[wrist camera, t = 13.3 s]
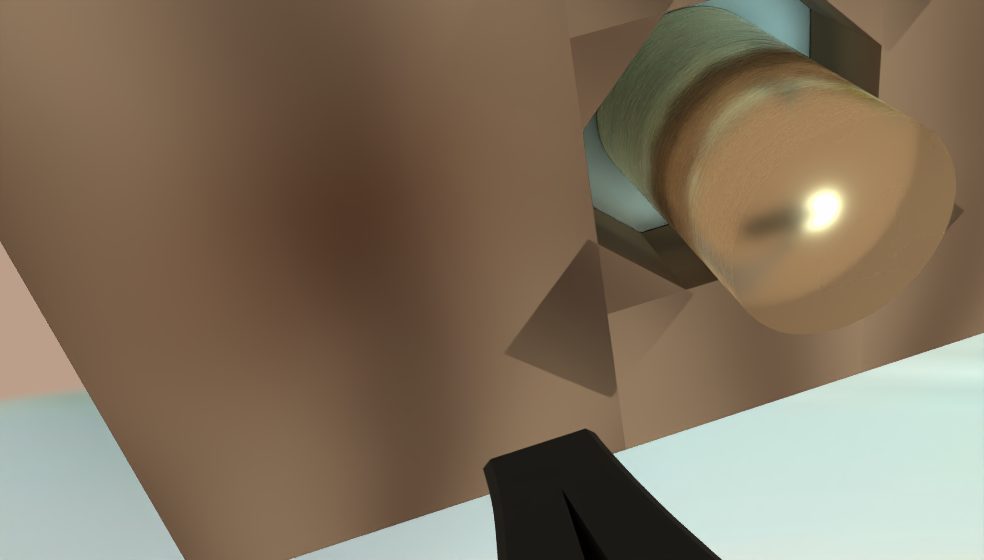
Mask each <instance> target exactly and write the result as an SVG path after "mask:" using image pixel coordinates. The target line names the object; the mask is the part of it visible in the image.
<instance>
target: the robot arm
mask: <svg viewBox="0 0 984 560" xmlns="http://www.w3.org/2000/svg"><path fill="white" fill-rule="evenodd" d="M483 471H484V474H485V478H486V482H487V486H488V489H489V493H490V497H491V501H492V506H493V513H494V521H495V529H496V542H497V554H498V560H722V559H721V558H719V557H718V556H717V555H716V554H715V553H714V552H712V551H711V550H710V549H709V548H708V547H707V546H706V545H705V544H704V543H703V542H701V541H700V540H699V539H698V538H697V537H696V536H695V535H694V534H693V533H691V532H690V531H689V530H688V529H687V528H686V527H685V526H684V525H683V524H681V523H680V522H679V521H678V520H677V519H676V518H675V517H674V516H673V515H672V514H671V513H670V512H669V511H668V510H666V509H665V508H664V507H663V506H662V505H661V504H660V503H659V502H658V501H657V500H656V499H655V498H654V497H653V496H652V495H651V494H650V493H649V492H648V491H647V490H646V489H645V488H644V487H643V486H642V485H641V484H640V483H639V482H638V481H637V480H636V479H635V478H634V476H633V475H632V474H631V473H630V472H629V471H628V470H627V469H626V468H625V467H624V466H623V465H622V464H621V463H620V461H619V460H618V459H617V458H616V457H615V456H614V455H613V454H612V452H611V451H610V450H609V449H608V448H607V447H606V446H605V444H604V443H603V442H602V441H601V440H600V438H599V437H598V436H597V435H596V433H594V432H592V431H590V430H588V429H586V428H585V429H582V430H579V431H576V432H573V433H570V434H566V435H563V436H560V437H557V438H554V439H551V440H548V441H545V442H542V443H539V444H535V445H532V446H529V447H526V448H523V449H520V450H517V451H514V452H511V453H507V454H504V455H501V456H498V457H495V458H492V459H490V460H489V461H488V463H487V464H486V465H485V467H484V468H483Z"/></svg>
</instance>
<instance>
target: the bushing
mask: <svg viewBox="0 0 984 560" xmlns="http://www.w3.org/2000/svg"><path fill="white" fill-rule="evenodd" d="M597 124H598V131H599V135H600V139H601V142H602V144H603V147H604V149H605V150H606V152H607V154H608V156H609V157H610V158H611V160H612V161H613V162H614V163H615V165H616V166H617V167H618V168H619V169H620V170H621V171H622V172H623V173H624V175H625V176H626V177H627V178H628V179H629V180H630V181H631V182H632V183H633V185H634V186H635V187H636V188H637V189H638V190H639V191H640V192H641V194H642V195H643V196H644V197H645V198H646V199H647V200H648V201H649V202H650V204H651V205H652V206H653V207H654V208H655V209H656V210H657V211H658V212H659V214H660V215H661V216H662V217H663V218H664V219H665V220H666V221H667V222H668V224H669V225H670V226H671V227H672V228H673V229H674V230H675V231H676V232H677V234H678V235H679V236H680V237H681V238H682V239H683V240H684V241H685V242H686V244H687V245H688V246H689V247H690V248H691V249H692V250H693V251H694V253H695V254H696V255H697V256H698V257H699V258H700V259H701V260H702V261H703V263H704V264H705V265H706V266H707V267H708V268H709V269H710V270H711V271H712V273H713V274H714V275H715V276H716V277H717V278H718V279H719V280H720V281H721V283H722V284H723V285H724V286H725V287H726V288H727V289H728V290H729V291H730V293H731V294H732V295H733V296H734V297H735V298H736V299H737V300H738V301H739V303H740V304H741V305H742V306H743V307H744V308H745V309H746V310H747V312H748V313H749V314H750V315H751V316H752V317H754V318H755V319H756V320H757V321H758V322H760V323H762V324H763V325H765V326H767V327H768V328H771V329H774V330H776V331H779V332H784V333H789V334H800V335H806V334H818V333H823V332H829V331H832V330H836V329H839V328H842V327H845V326H847V325H850V324H852V323H855V322H857V321H859V320H861V319H863V318H865V317H867V316H869V315H870V314H872V313H874V312H875V311H877V310H878V309H880V308H881V307H883V306H884V305H886V304H887V303H888V302H890V301H891V300H892V299H894V298H895V297H896V296H897V295H898V294H899V293H900V292H902V291H903V290H904V289H905V288H906V287H907V286H908V285H909V284H910V283H911V282H912V281H913V280H914V279H915V278H916V276H917V275H918V274H919V273H920V272H921V270H922V269H923V268H924V267H925V265H926V264H927V263H928V261H929V260H930V258H931V257H932V255H933V254H934V252H935V251H936V249H937V247H938V245H939V244H940V242H941V240H942V238H943V236H944V234H945V231H946V229H947V226H948V224H949V221H950V218H951V214H952V211H953V207H954V201H955V195H956V177H955V169H954V165H953V162H952V158H951V156H950V154H949V151H948V149H947V147H946V146H945V144H944V143H943V142H942V140H941V139H940V138H939V137H938V136H937V135H936V134H935V133H934V132H933V131H932V130H930V129H929V128H927V127H926V126H924V125H922V124H921V123H919V122H917V121H915V120H914V119H912V118H910V117H909V116H907V115H905V114H904V113H902V112H900V111H898V110H897V109H895V108H893V107H892V106H890V105H888V104H887V103H885V102H883V101H881V100H880V99H878V98H876V97H875V96H873V95H871V94H870V93H868V92H866V91H865V90H863V89H861V88H859V87H858V86H856V85H854V84H853V83H851V82H849V81H848V80H846V79H844V78H842V77H841V76H839V75H837V74H836V73H834V72H832V71H831V70H829V69H827V68H825V67H824V66H822V65H820V64H819V63H817V62H815V61H814V60H812V59H810V58H808V57H807V56H805V55H803V54H802V53H800V52H798V51H797V50H795V49H793V48H791V47H790V46H788V45H786V44H785V43H783V42H781V41H780V40H778V39H776V38H774V37H773V36H771V35H769V34H768V33H766V32H764V31H763V30H761V29H759V28H758V27H756V26H754V25H752V24H751V23H749V22H747V21H746V20H744V19H742V18H741V17H739V16H737V15H735V14H734V13H732V12H729V11H726V10H724V9H720V8H715V7H707V6H697V7H688V8H683V9H679V10H675V11H673V12H670V13H668V14H665V15H663V17H662V18H661V20H660V21H659V23H658V24H657V25H656V27H655V28H654V30H653V31H652V32H651V34H650V35H649V37H648V38H647V40H646V41H645V42H644V44H643V45H642V47H641V48H640V50H639V51H638V52H637V54H636V55H635V57H634V58H633V60H632V61H631V62H630V64H629V65H628V67H627V68H626V70H625V71H624V72H623V74H622V75H621V77H620V78H619V79H618V81H617V82H616V84H615V85H614V87H613V88H612V89H611V91H610V92H609V94H608V95H607V97H606V98H605V99H604V101H603V102H602V104H601V105H600V107H599V108H598V109H597Z"/></svg>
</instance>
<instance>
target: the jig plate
mask: <svg viewBox="0 0 984 560" xmlns="http://www.w3.org/2000/svg"><path fill="white" fill-rule="evenodd" d="M705 1H708V0H0V241H1V243H2V245H3V246H4V248H5V250H6V252H7V254H8V255H9V257H10V259H11V260H12V262H13V264H14V266H15V267H16V269H17V271H18V273H19V274H20V276H21V278H22V279H23V281H24V283H25V285H26V286H27V288H28V290H29V292H30V293H31V295H32V296H33V298H34V300H35V302H36V304H37V305H38V307H39V309H40V310H41V312H42V314H43V316H44V317H45V319H46V321H47V323H48V324H49V326H50V328H51V329H52V331H53V333H54V335H55V336H56V338H57V340H58V342H59V343H60V345H61V347H62V348H63V350H64V352H65V354H66V355H67V357H68V359H69V361H70V362H71V364H72V366H73V367H74V369H75V371H76V373H77V374H78V376H79V378H80V379H81V381H82V383H83V385H84V386H85V388H86V390H87V392H88V393H89V395H90V397H91V398H92V400H93V402H94V404H95V405H96V407H97V409H98V411H99V412H100V414H101V416H102V417H103V419H104V421H105V423H106V424H107V426H108V428H109V430H110V431H111V433H112V435H113V436H114V438H115V440H116V442H117V443H118V445H119V447H120V449H121V450H122V452H123V454H124V455H125V457H126V459H127V461H128V462H129V464H130V466H131V467H132V469H133V471H134V473H135V474H136V476H137V478H138V480H139V481H140V483H141V485H142V486H143V488H144V490H145V492H146V493H147V495H148V497H149V499H150V500H151V502H152V504H153V505H154V507H155V509H156V511H157V512H158V514H159V516H160V518H161V519H162V521H163V523H164V524H165V526H166V528H167V530H168V531H169V533H170V535H171V536H172V538H173V540H174V542H175V543H176V545H177V547H178V549H179V550H180V552H181V554H182V555H183V557H184V559H185V560H289V559H292V558H295V557H298V556H301V555H304V554H307V553H310V552H314V551H317V550H320V549H323V548H326V547H329V546H332V545H335V544H338V543H341V542H344V541H347V540H350V539H353V538H356V537H359V536H363V535H366V534H369V533H372V532H375V531H378V530H381V529H384V528H387V527H390V526H393V525H396V524H399V523H402V522H405V521H408V520H412V519H415V518H418V517H421V516H424V515H427V514H430V513H433V512H436V511H439V510H442V509H445V508H448V507H451V506H454V505H458V504H461V503H464V502H467V501H470V500H473V499H476V498H479V497H482V496H485V495H488V494H490V493H489V489H488V486H487V482H486V478H485V474H484V471H483V468H484V467H485V465H486V464H487V463H488V461H489V460H490V459H492V458H495V457H498V456H501V455H504V454H507V453H511V452H514V451H517V450H520V449H523V448H526V447H529V446H532V445H535V444H539V443H542V442H545V441H548V440H551V439H554V438H557V437H560V436H563V435H566V434H570V433H573V432H576V431H579V430H582V429H585V428H586V429H588V430H590V431H592V432H594V433H596V435H597V436H598V437H599V438H600V440H601V441H602V442H603V443H604V444H605V446H606V447H607V448H608V449H609V450H610V451H611V452H612V454H614V453H617V452H620V451H623V450H626V449H629V448H632V447H635V446H638V445H641V444H644V443H647V442H651V441H654V440H657V439H660V438H663V437H666V436H669V435H672V434H675V433H678V432H681V431H684V430H687V429H690V428H693V427H696V426H700V425H703V424H706V423H709V422H712V421H715V420H718V419H721V418H724V417H727V416H730V415H733V414H736V413H739V412H742V411H745V410H749V409H752V408H755V407H758V406H761V405H764V404H767V403H770V402H773V401H776V400H779V399H782V398H785V397H788V396H791V395H794V394H798V393H801V392H804V391H807V390H810V389H813V388H816V387H819V386H822V385H825V384H828V383H831V382H834V381H837V380H840V379H844V378H847V377H850V376H853V375H856V374H859V373H862V372H865V371H868V370H871V369H874V368H877V367H880V366H883V365H886V364H889V363H893V362H896V361H899V360H902V359H905V358H908V357H911V356H914V355H917V354H920V353H923V352H926V351H929V350H932V349H935V348H938V347H942V346H945V345H948V344H951V343H954V342H957V341H960V340H963V339H966V338H969V337H972V336H975V335H978V334H981V333H984V0H800V1H802V2H803V3H804V4H805V5H807V6H808V7H809V8H810V9H811V44H810V59H812V60H814V61H815V62H817V63H819V64H820V65H822V66H824V67H825V68H827V69H829V70H831V71H832V72H834V73H836V74H837V75H839V76H841V77H842V78H844V79H846V80H848V81H849V82H851V83H853V84H854V85H856V86H858V87H859V88H861V89H863V90H865V91H866V92H868V93H870V94H871V95H873V96H875V97H876V98H878V99H880V100H881V101H883V102H885V103H887V104H888V105H890V106H892V107H893V108H895V109H897V110H898V111H900V112H902V113H904V114H905V115H907V116H909V117H910V118H912V119H914V120H915V121H917V122H919V123H921V124H922V125H924V126H926V127H927V128H929V129H930V130H932V131H933V132H934V133H935V134H936V135H937V136H938V137H939V138H940V139H941V140H942V142H943V143H944V144H945V146H946V147H947V149H948V151H949V154H950V156H951V158H952V162H953V165H954V169H955V177H956V195H955V201H954V207H953V211H952V214H951V218H950V221H949V224H948V226H947V229H946V231H945V234H944V236H943V238H942V240H941V242H940V244H939V245H938V247H937V249H936V251H935V252H934V254H933V255H932V257H931V258H930V260H929V261H928V263H927V264H926V265H925V267H924V268H923V269H922V270H921V272H920V273H919V274H918V275H917V276H916V278H915V279H914V280H913V281H912V282H911V283H910V284H909V285H908V286H907V287H906V288H905V289H904V290H903V291H902V292H900V293H899V294H898V295H897V296H896V297H895V298H894V299H892V300H891V301H890V302H888V303H887V304H886V305H884V306H883V307H881V308H880V309H878V310H877V311H875V312H874V313H872V314H870V315H869V316H867V317H865V318H863V319H861V320H859V321H857V322H855V323H852V324H850V325H847V326H845V327H842V328H839V329H836V330H832V331H829V332H823V333H818V334H806V335H800V334H789V333H784V332H779V331H776V330H774V329H771V328H768V327H767V326H765V325H763V324H762V323H760V322H758V321H757V320H756V319H755V318H754V317H752V316H751V315H750V314H749V313H748V312H747V310H746V309H745V308H744V307H743V306H742V305H741V304H740V303H739V301H738V300H737V299H736V298H735V297H734V296H733V295H732V294H731V293H730V291H729V290H728V289H727V288H726V287H725V286H724V285H723V284H722V283H721V281H720V280H719V279H718V278H717V277H716V276H715V275H714V274H713V273H712V271H711V270H710V269H709V268H708V267H707V266H706V265H705V264H704V263H703V261H702V260H701V259H700V258H699V257H698V256H697V255H696V254H695V253H694V251H693V250H692V249H691V248H690V247H689V246H688V245H687V244H686V242H685V241H684V240H683V239H682V238H681V237H680V236H679V235H678V234H677V232H676V231H675V230H674V229H673V228H672V227H671V226H670V225H667V226H664V227H660V228H657V229H654V230H650V231H647V232H644V233H639V232H638V231H636V230H634V229H632V228H630V227H628V226H626V225H625V224H623V223H621V222H619V221H617V220H615V219H614V218H612V217H610V216H608V215H606V214H604V213H603V212H601V211H599V210H597V209H595V208H593V205H592V198H591V191H590V183H589V176H588V169H587V161H586V154H585V147H584V139H583V132H582V131H583V129H584V128H585V127H586V125H587V124H588V122H589V121H590V119H591V118H592V117H593V115H594V114H595V112H596V111H597V109H598V108H599V107H600V105H601V104H602V102H603V101H604V99H605V98H606V97H607V95H608V94H609V92H610V91H611V89H612V88H613V87H614V85H615V84H616V82H617V81H618V79H619V78H620V77H621V75H622V74H623V72H624V71H625V70H626V68H627V67H628V65H629V64H630V62H631V61H632V60H633V58H634V57H635V55H636V54H637V52H638V51H639V50H640V48H641V47H642V45H643V44H644V42H645V41H646V40H647V38H648V37H649V35H650V34H651V32H652V31H653V30H654V28H655V27H656V25H657V24H658V23H659V21H660V20H661V18H662V17H663V15H664V14H665V13H666V12H668V11H672V10H675V9H679V8H683V7H686V6H690V5H694V4H697V3H701V2H705Z"/></svg>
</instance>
